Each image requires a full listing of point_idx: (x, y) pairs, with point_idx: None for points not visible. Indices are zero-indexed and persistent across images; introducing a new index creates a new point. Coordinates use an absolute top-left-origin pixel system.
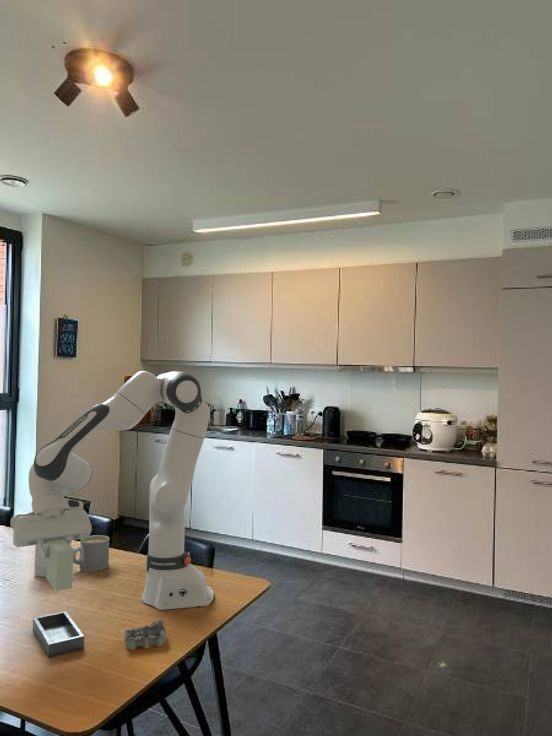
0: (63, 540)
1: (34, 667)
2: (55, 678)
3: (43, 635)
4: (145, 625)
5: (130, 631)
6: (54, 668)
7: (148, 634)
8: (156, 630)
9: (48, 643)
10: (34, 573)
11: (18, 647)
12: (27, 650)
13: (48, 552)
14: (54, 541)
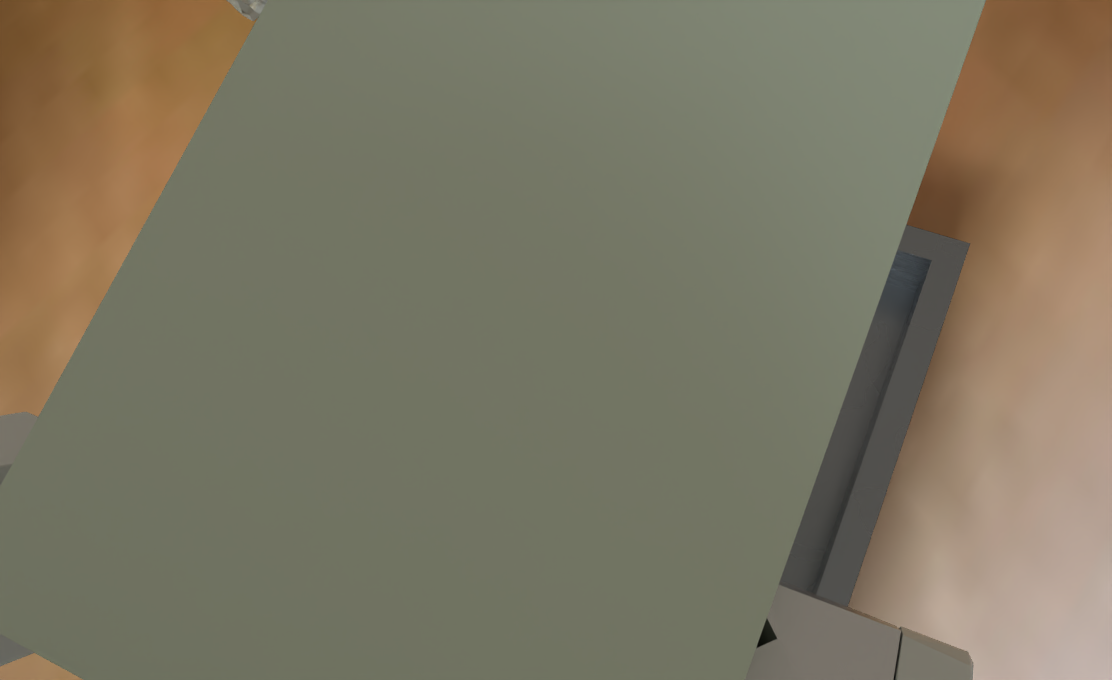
0: (96, 416)
1: (1096, 243)
2: (1062, 15)
3: (907, 428)
4: (258, 13)
5: None
6: (994, 127)
7: None
8: (228, 1)
9: (960, 261)
10: None
11: (1027, 652)
12: (996, 533)
13: (790, 625)
14: (452, 611)
